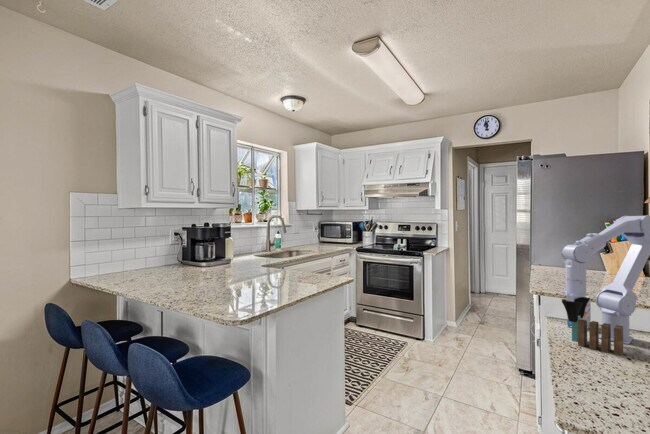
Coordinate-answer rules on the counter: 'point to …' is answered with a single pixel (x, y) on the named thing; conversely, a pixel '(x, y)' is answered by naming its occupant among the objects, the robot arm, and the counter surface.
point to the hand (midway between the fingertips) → (576, 319)
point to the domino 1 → (575, 330)
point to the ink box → (586, 314)
